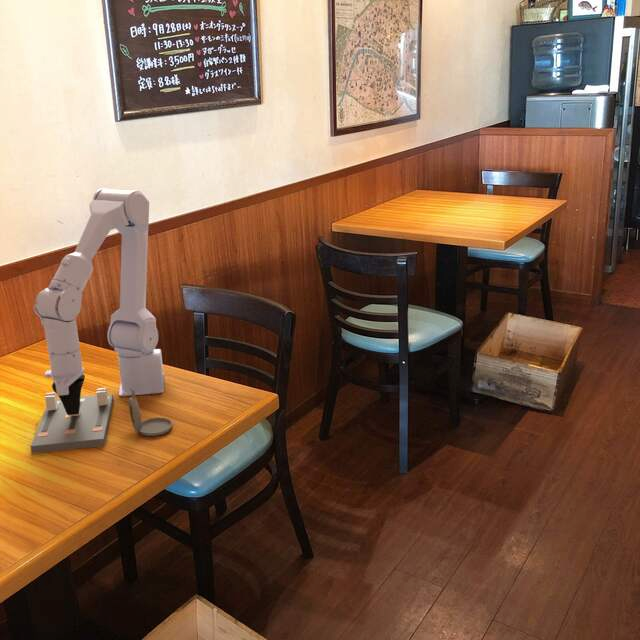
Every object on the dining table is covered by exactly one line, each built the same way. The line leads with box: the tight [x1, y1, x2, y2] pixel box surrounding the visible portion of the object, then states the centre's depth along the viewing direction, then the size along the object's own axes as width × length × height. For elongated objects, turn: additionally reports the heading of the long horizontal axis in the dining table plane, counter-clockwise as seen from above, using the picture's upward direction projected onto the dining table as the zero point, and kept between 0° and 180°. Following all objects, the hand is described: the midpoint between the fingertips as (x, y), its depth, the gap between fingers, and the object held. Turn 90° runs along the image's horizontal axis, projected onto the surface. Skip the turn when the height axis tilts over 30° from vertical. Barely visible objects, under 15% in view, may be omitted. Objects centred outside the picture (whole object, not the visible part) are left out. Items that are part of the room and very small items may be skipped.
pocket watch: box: [128, 387, 173, 437], centre depth 133 cm, size 8×8×10 cm
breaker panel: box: [30, 393, 115, 454], centre depth 137 cm, size 13×20×2 cm, turn 11°
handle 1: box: [44, 391, 58, 411], centre depth 140 cm, size 2×2×3 cm
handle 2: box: [95, 387, 108, 406], centre depth 142 cm, size 2×2×3 cm
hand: (73, 413), depth 136 cm, fingers closed
